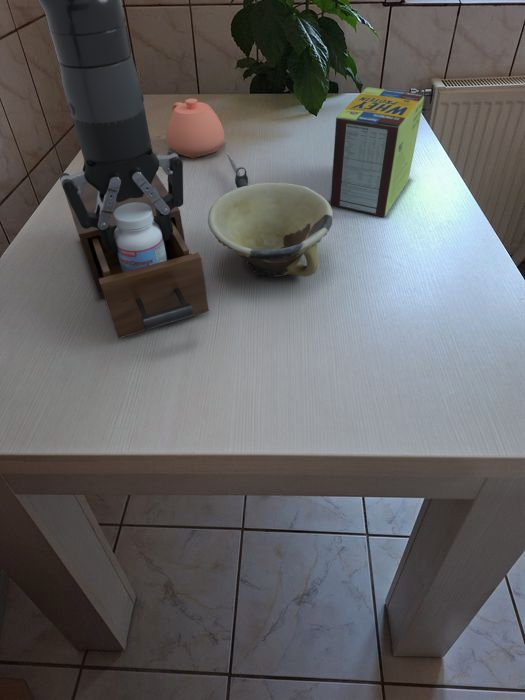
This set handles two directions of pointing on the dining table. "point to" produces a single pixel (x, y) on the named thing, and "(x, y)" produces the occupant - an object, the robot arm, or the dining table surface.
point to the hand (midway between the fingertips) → (139, 243)
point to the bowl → (272, 226)
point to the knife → (238, 174)
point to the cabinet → (113, 223)
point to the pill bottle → (137, 237)
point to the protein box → (374, 149)
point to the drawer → (152, 287)
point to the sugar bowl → (194, 129)
